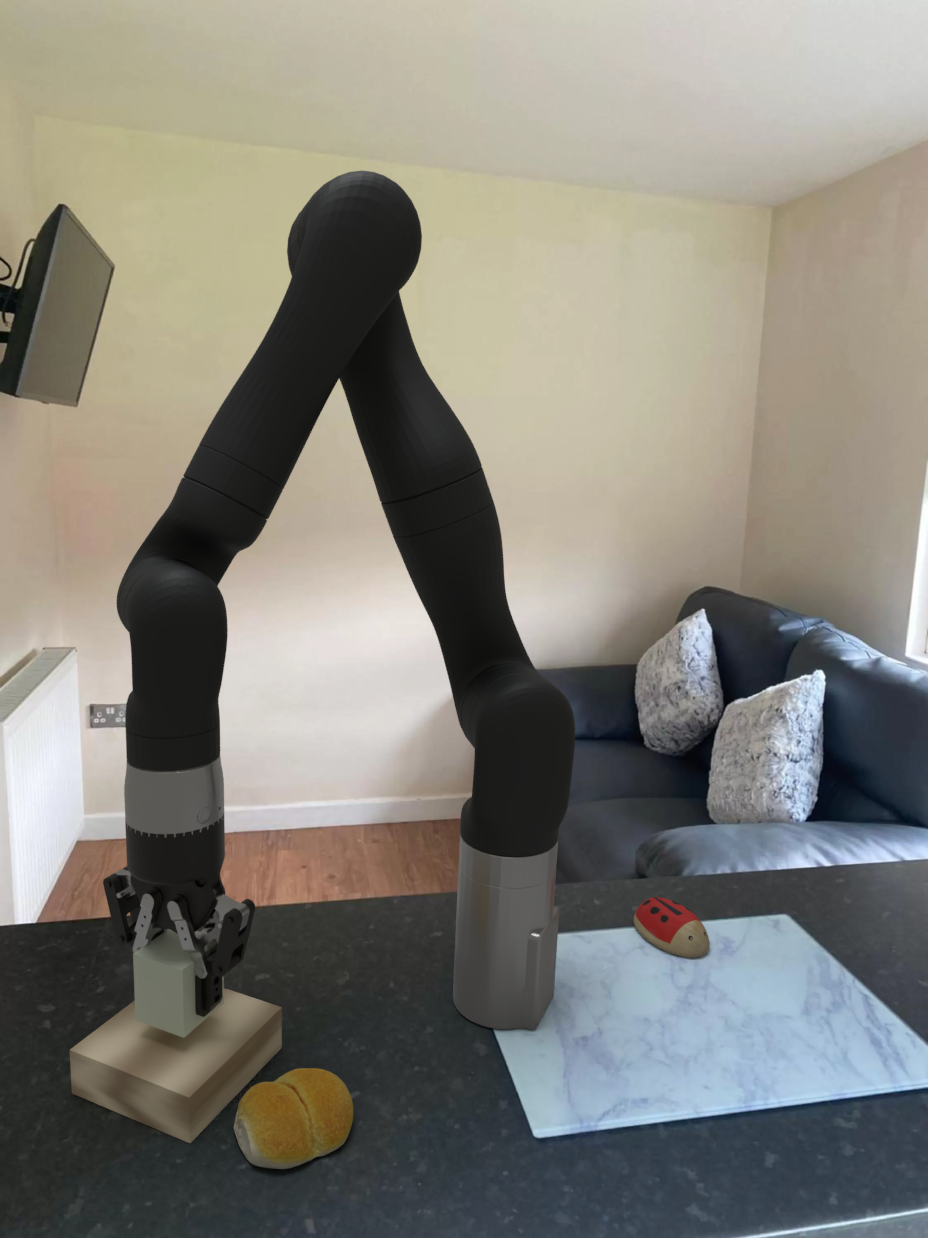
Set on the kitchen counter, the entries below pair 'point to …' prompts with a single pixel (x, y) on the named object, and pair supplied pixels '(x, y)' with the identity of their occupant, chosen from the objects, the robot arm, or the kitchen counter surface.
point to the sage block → (167, 986)
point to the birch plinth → (176, 1064)
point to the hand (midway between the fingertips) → (180, 1000)
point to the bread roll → (293, 1118)
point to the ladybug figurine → (671, 927)
